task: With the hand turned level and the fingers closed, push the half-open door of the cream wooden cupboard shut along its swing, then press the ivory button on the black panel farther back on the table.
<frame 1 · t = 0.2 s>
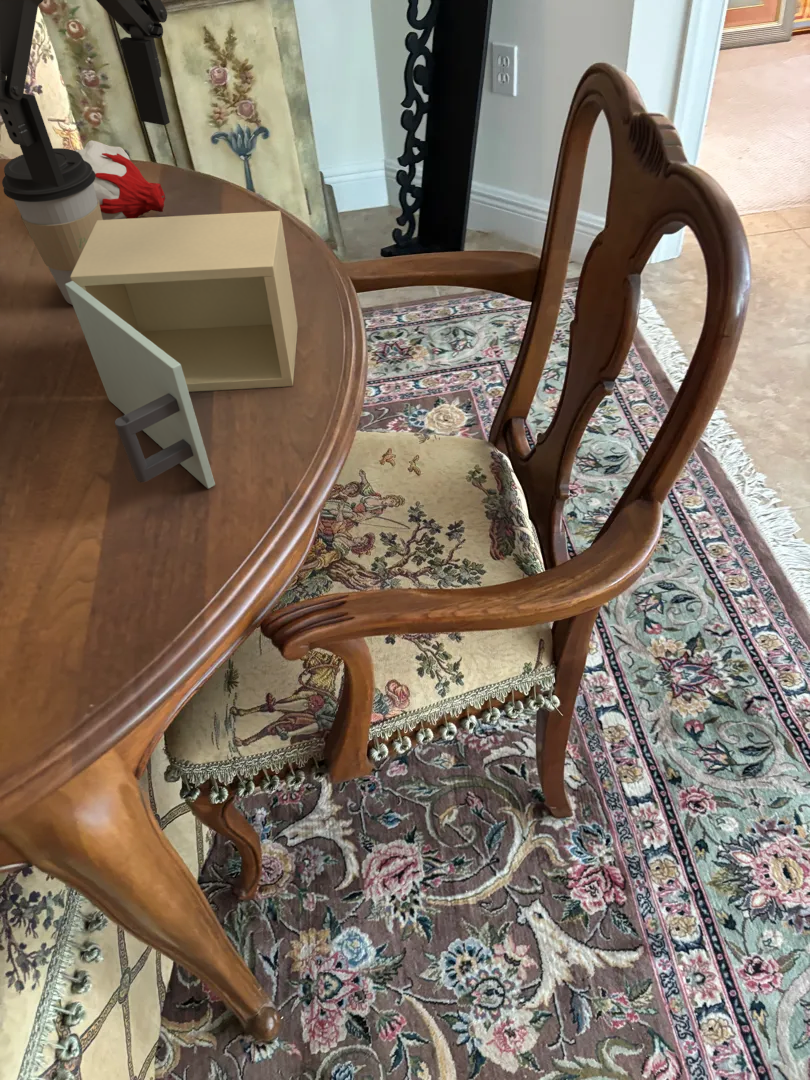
hand: (105, 150, 67), 21 cm above the table, tool pointing down, fingers open, 13 cm apart
cupboard door: (114, 397, 68), point 6 cm above the table, hinge at 50.0°
cupboard: (210, 359, 83), on the table
coffee cup: (90, 295, 93), on the table
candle: (122, 221, 106), on the table
button: (192, 228, 95), point 4 cm above the table, slide at 0.1 cm
button panel: (199, 259, 97), on the table
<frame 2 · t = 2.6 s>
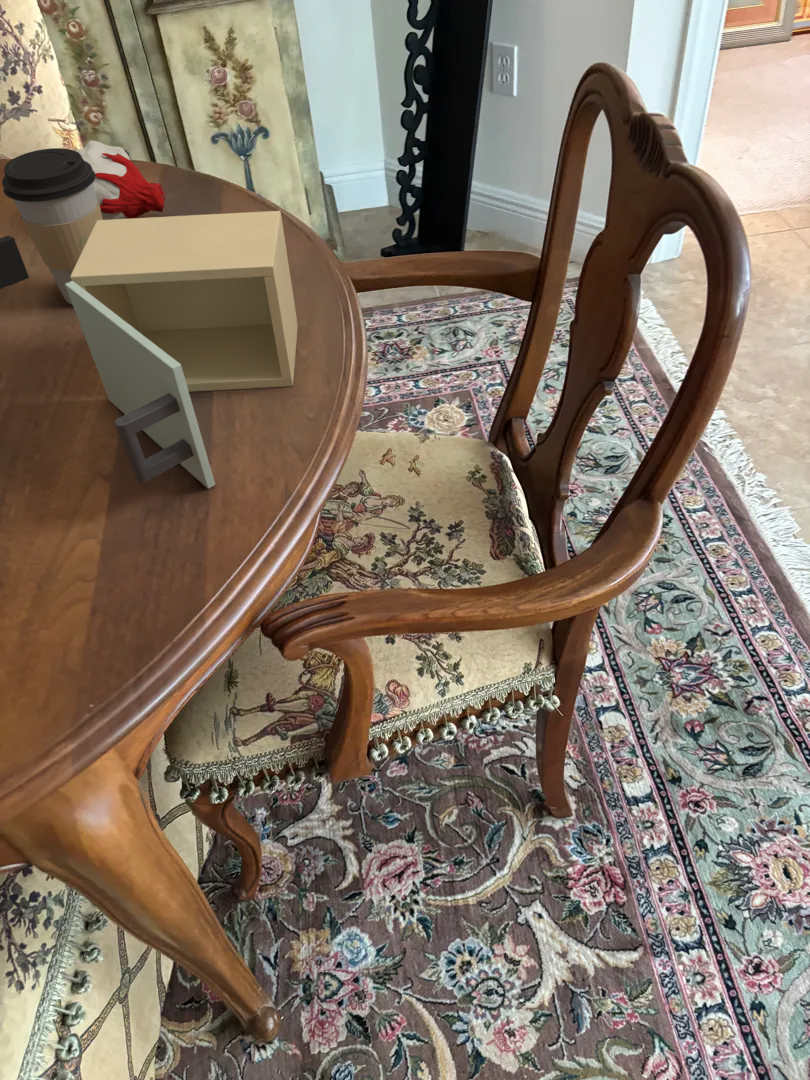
nothing on the table moved.
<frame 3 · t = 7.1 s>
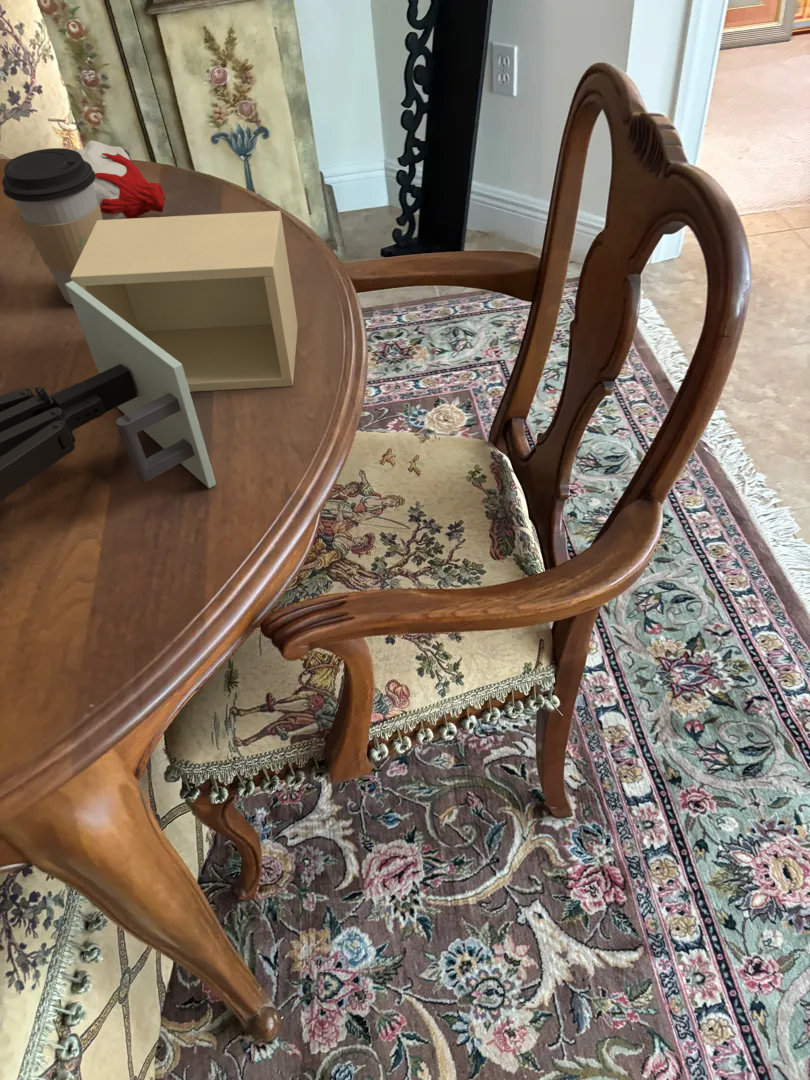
hand: (129, 380, 69), 7 cm above the table, tool horizontal, fingers closed
cupboard door: (114, 397, 68), point 6 cm above the table, hinge at 49.7°, touching gripper
everything else where it was.
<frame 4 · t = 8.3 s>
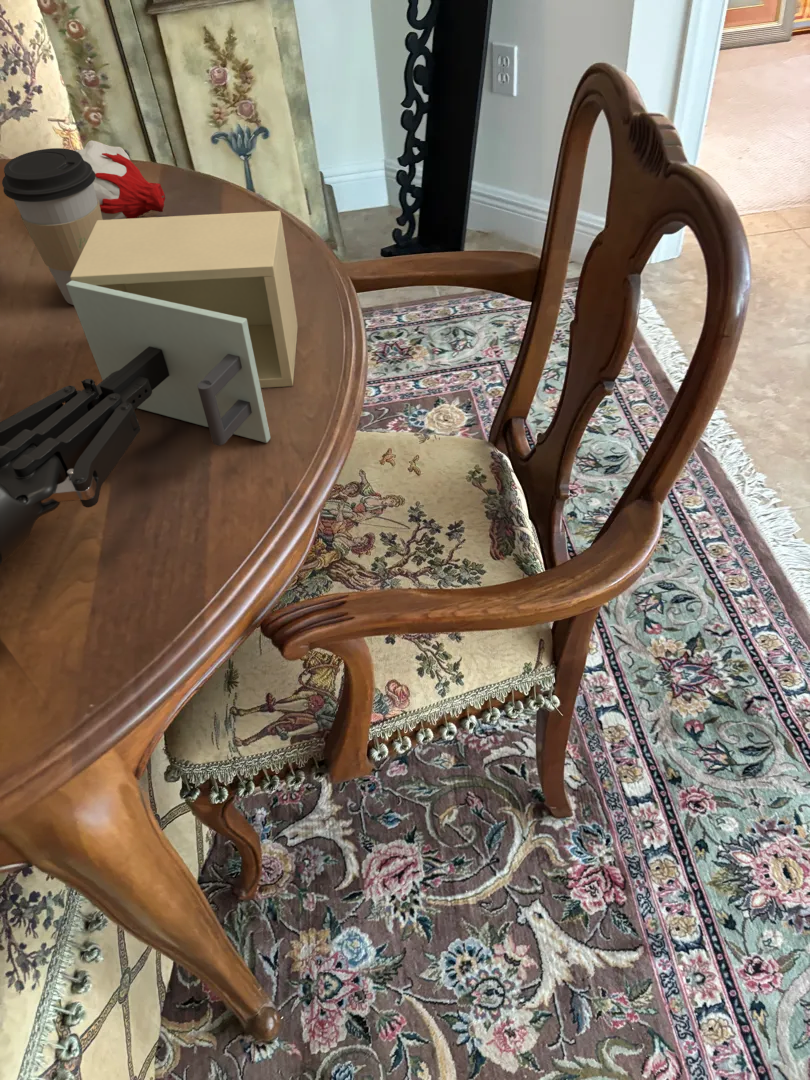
hand: (159, 361, 70), 7 cm above the table, tool horizontal, fingers closed
cupboard door: (155, 379, 69), point 6 cm above the table, hinge at 25.9°, touching gripper
everything else where it was.
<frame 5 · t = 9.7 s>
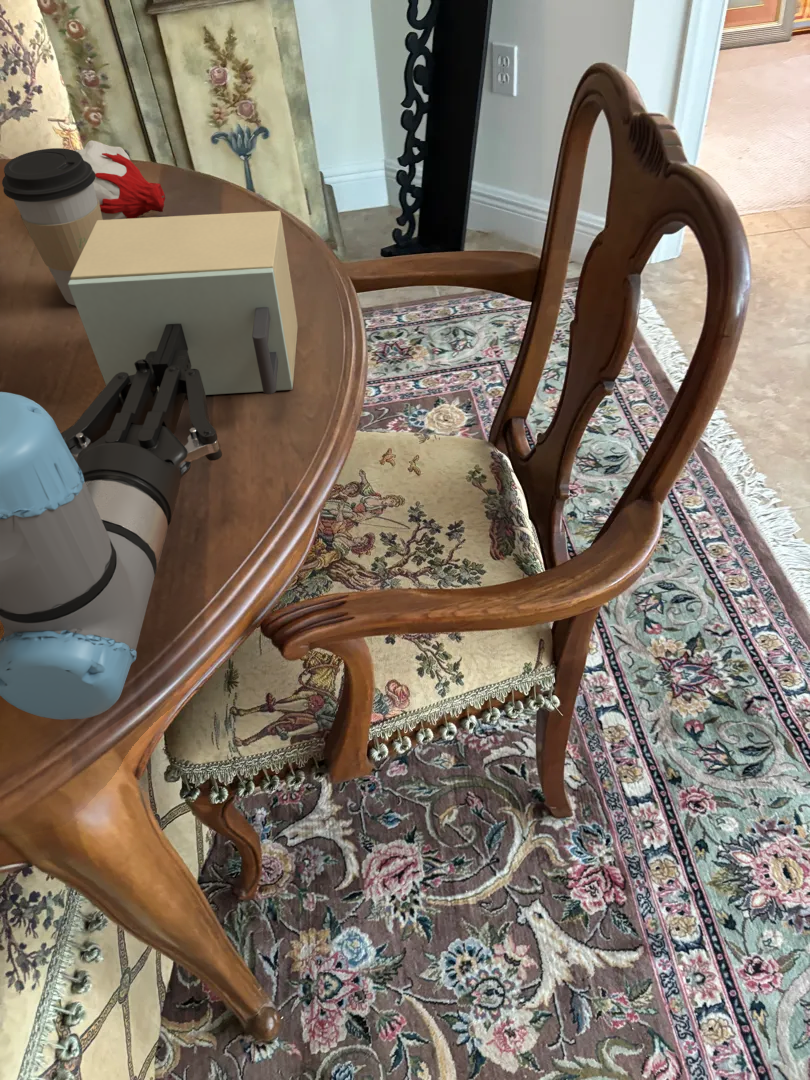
hand: (177, 337, 73), 7 cm above the table, tool horizontal, fingers closed
cupboard door: (184, 353, 72), point 6 cm above the table, hinge at -0.8°, touching cupboard, gripper
everything else where it was.
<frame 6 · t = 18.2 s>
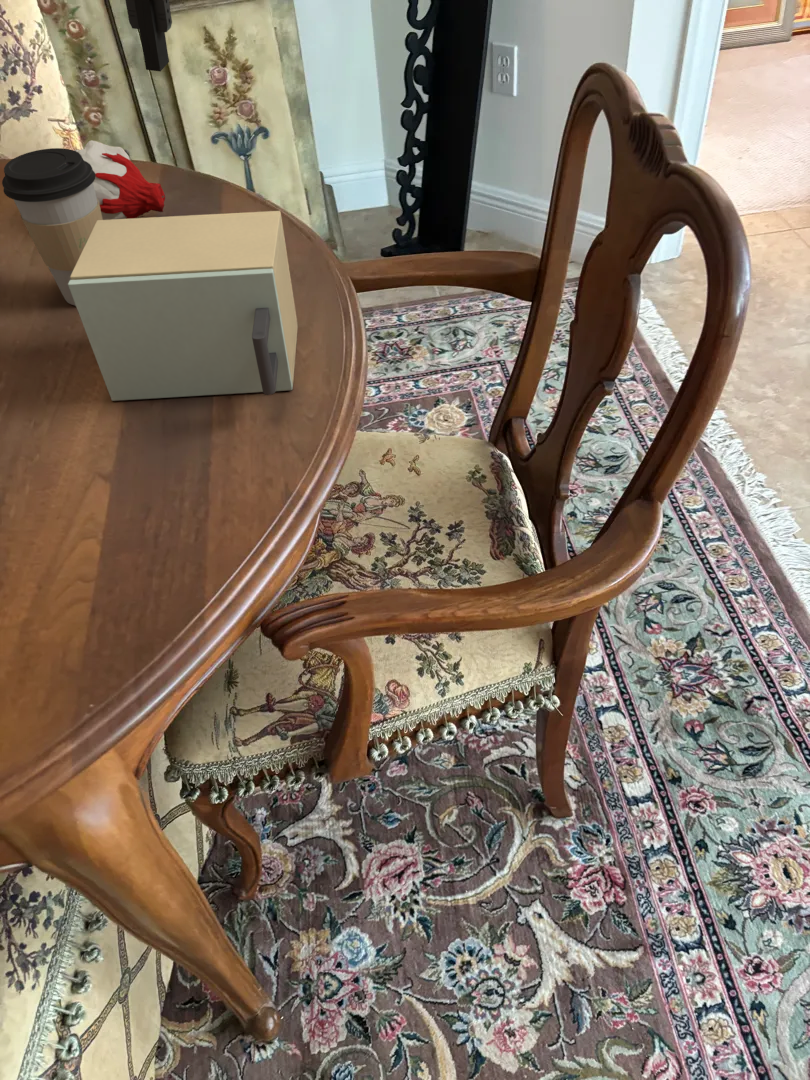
hand: (157, 65, 80), 22 cm above the table, tool pointing down, fingers closed
cupboard door: (184, 354, 72), point 6 cm above the table, hinge at -0.5°
everything else where it was.
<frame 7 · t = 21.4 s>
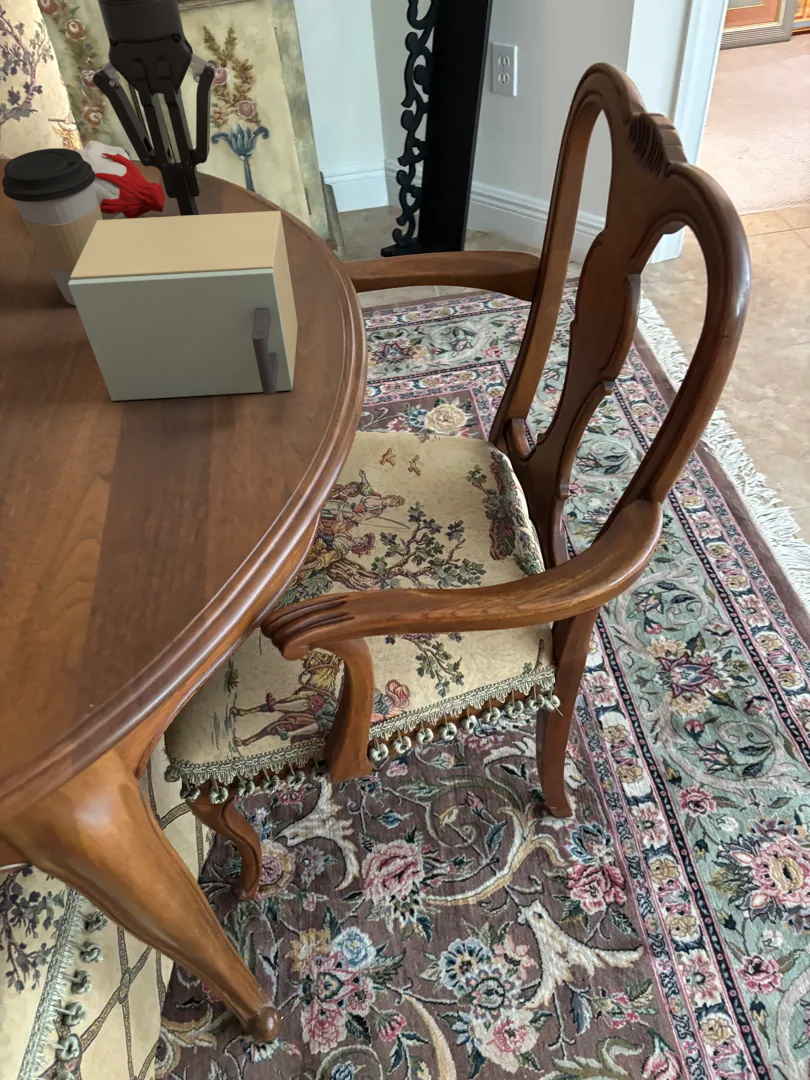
hand: (191, 222, 94), 5 cm above the table, tool pointing down, fingers closed
button: (192, 231, 95), point 4 cm above the table, slide at -0.3 cm, touching gripper
everything else where it was.
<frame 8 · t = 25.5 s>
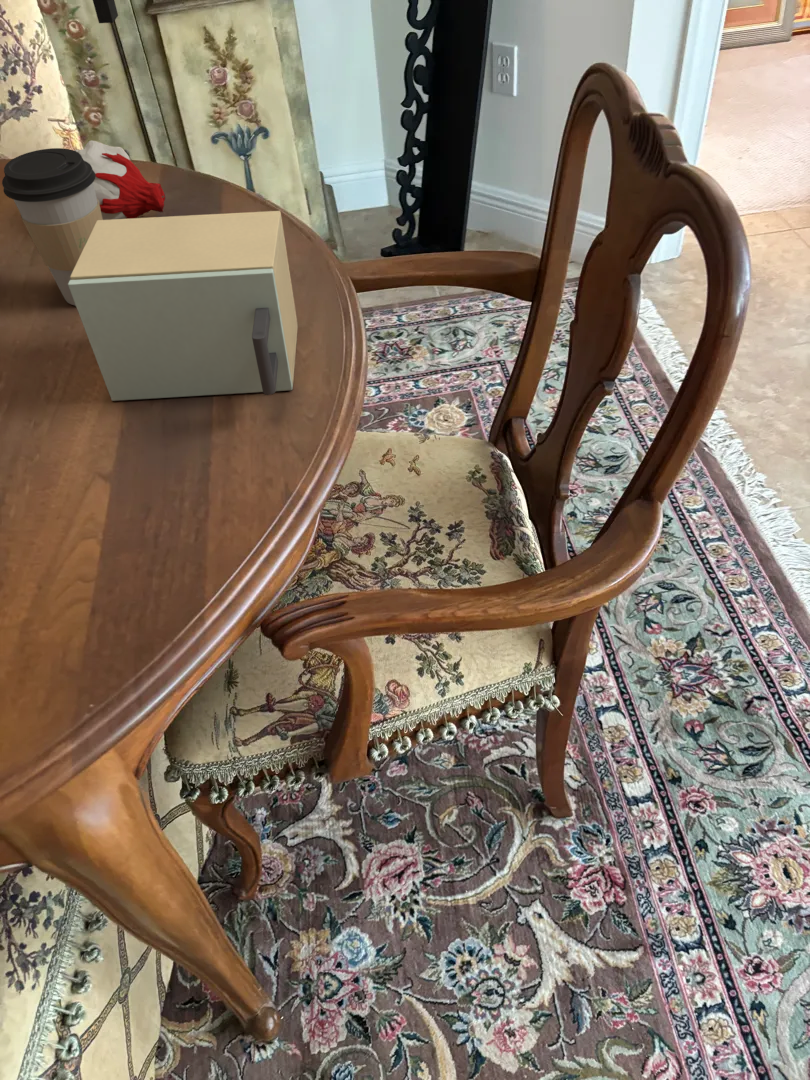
hand: (108, 19, 84), 24 cm above the table, tool pointing down, fingers closed
button: (192, 228, 95), point 4 cm above the table, slide at 0.1 cm
everything else where it was.
at the end: cupboard door at +0° (first picture: +50°); button pushed in 1.0 cm at the most during the clip, back to where it started at the end; button slide at 0.1 cm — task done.
